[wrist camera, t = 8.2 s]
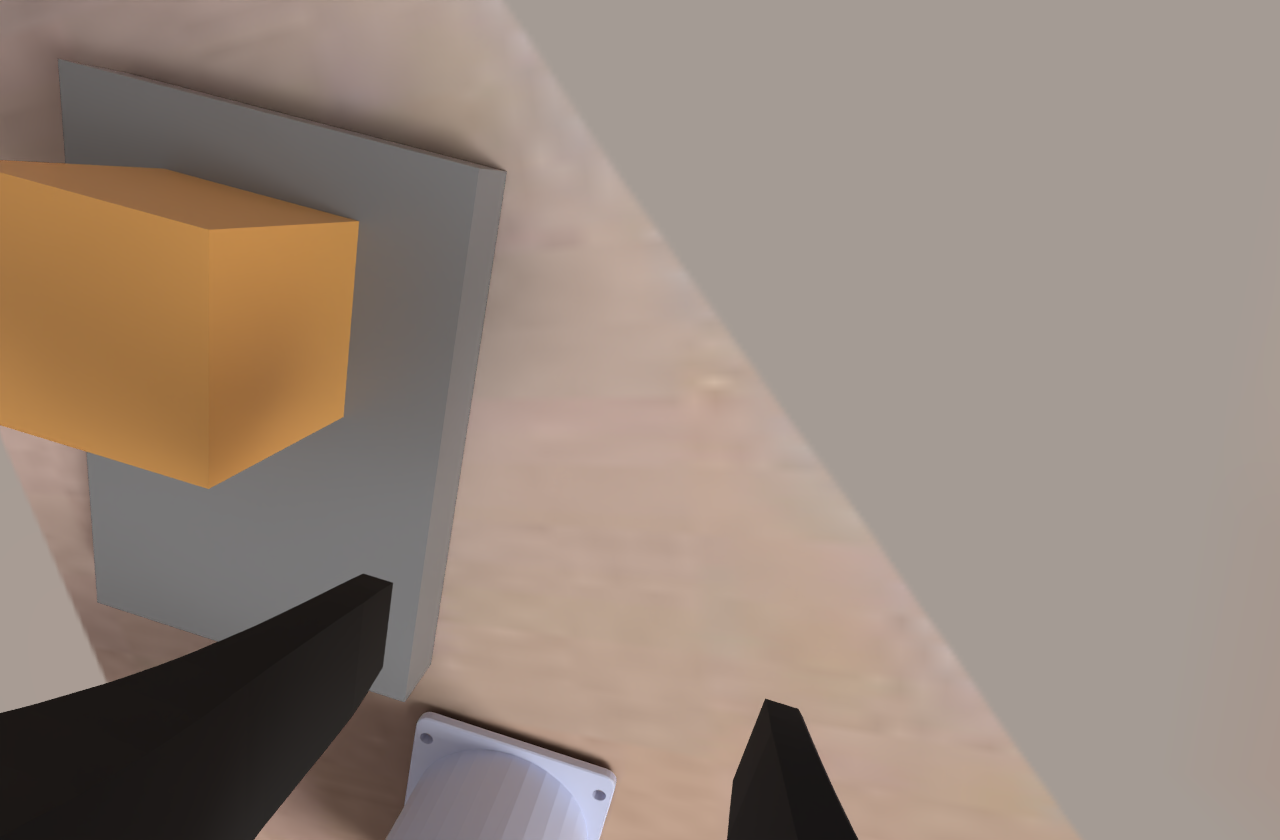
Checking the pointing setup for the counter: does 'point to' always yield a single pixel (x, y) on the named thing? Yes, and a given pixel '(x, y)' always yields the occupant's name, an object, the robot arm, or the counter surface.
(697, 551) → the counter surface
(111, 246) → the amber cube
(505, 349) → the counter surface
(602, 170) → the counter surface
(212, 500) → the flat grey tile
